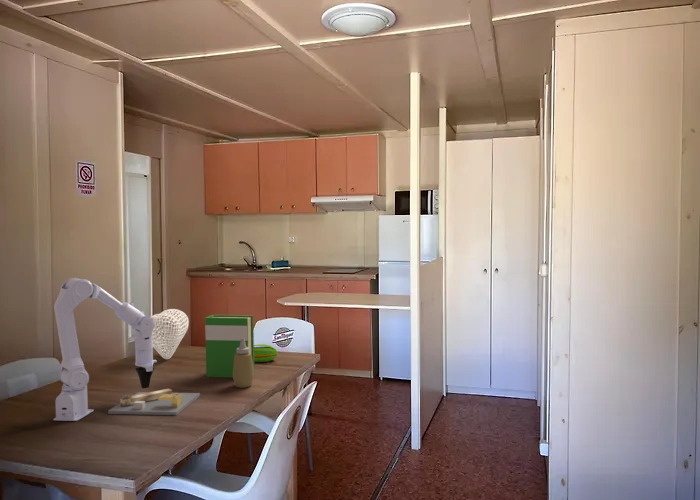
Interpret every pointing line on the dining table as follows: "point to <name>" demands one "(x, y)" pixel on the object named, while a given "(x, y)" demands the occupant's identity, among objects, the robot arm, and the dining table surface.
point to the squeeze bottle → (243, 366)
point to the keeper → (172, 399)
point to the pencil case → (264, 353)
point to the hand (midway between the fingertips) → (145, 387)
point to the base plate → (156, 406)
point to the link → (143, 397)
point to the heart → (178, 335)
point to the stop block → (139, 404)
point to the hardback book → (226, 342)
